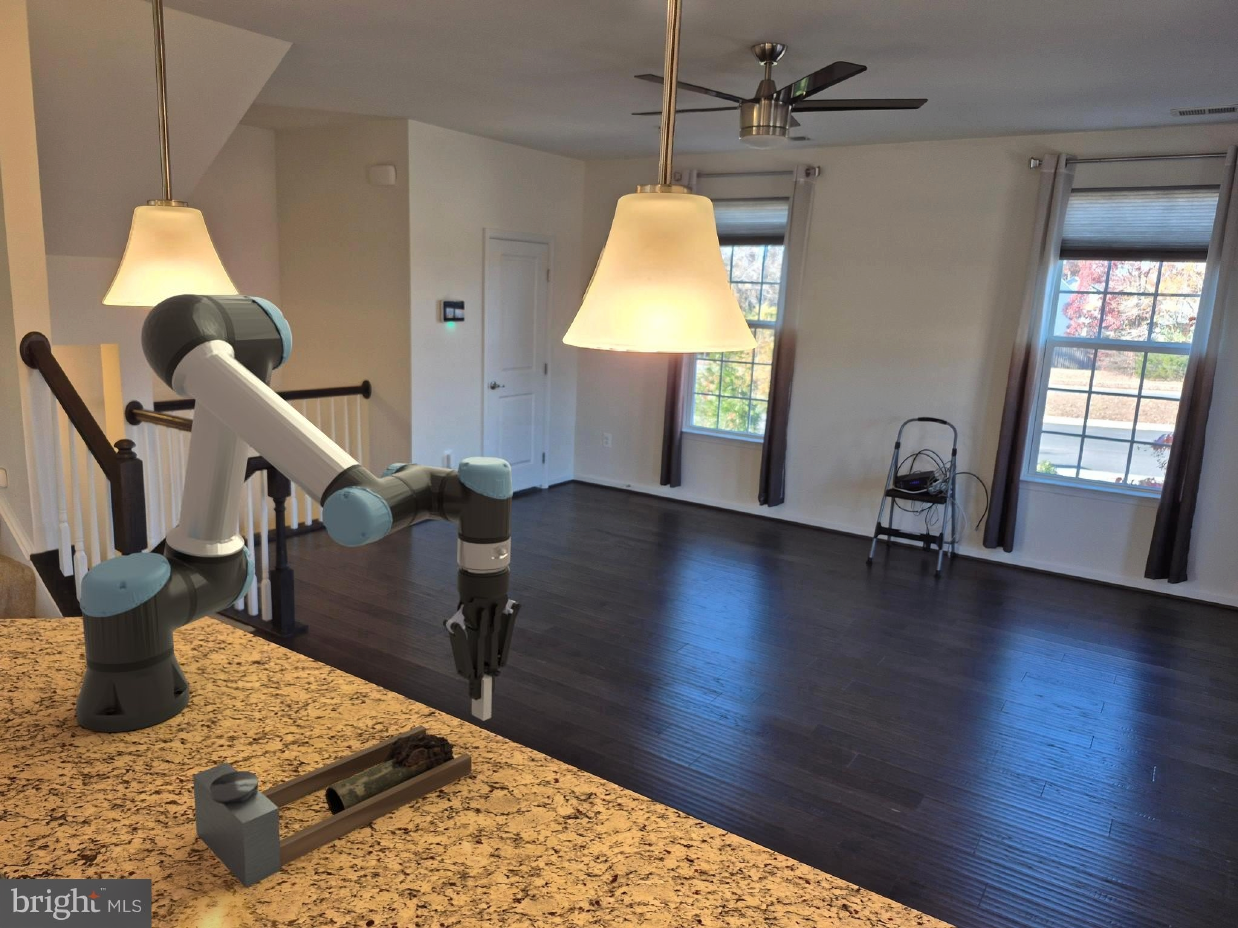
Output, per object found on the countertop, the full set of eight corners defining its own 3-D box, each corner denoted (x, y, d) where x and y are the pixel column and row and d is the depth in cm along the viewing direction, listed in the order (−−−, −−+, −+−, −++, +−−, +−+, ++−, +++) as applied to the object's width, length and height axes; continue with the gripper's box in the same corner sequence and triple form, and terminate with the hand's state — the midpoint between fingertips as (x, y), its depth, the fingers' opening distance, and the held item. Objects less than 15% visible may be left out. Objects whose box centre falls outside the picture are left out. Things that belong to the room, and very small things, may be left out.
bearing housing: (192, 836, 100) (188, 768, 98) (234, 818, 104) (230, 752, 102) (241, 889, 92) (238, 817, 90) (284, 868, 95) (282, 797, 94)
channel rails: (232, 822, 103) (231, 804, 102) (421, 740, 124) (421, 724, 123) (278, 867, 95) (277, 848, 95) (471, 772, 116) (471, 756, 116)
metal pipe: (345, 828, 103) (344, 788, 102) (318, 806, 108) (316, 766, 107) (460, 772, 116) (460, 735, 115) (431, 754, 121) (431, 718, 120)
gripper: (464, 581, 112) (462, 741, 117) (535, 562, 122) (530, 710, 126) (430, 568, 117) (430, 721, 122) (501, 550, 127) (498, 693, 131)
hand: (481, 715), depth 124 cm, fingers closed
